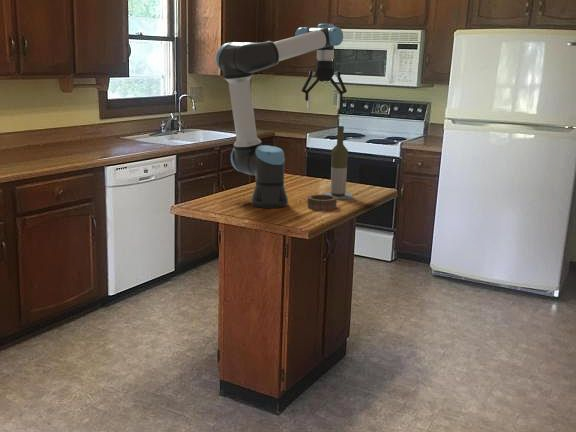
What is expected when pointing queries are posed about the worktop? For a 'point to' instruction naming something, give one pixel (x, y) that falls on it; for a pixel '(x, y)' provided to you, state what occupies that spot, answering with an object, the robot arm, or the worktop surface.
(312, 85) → the robot arm
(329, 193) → the mat
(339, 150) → the bottle
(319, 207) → the ring stand
